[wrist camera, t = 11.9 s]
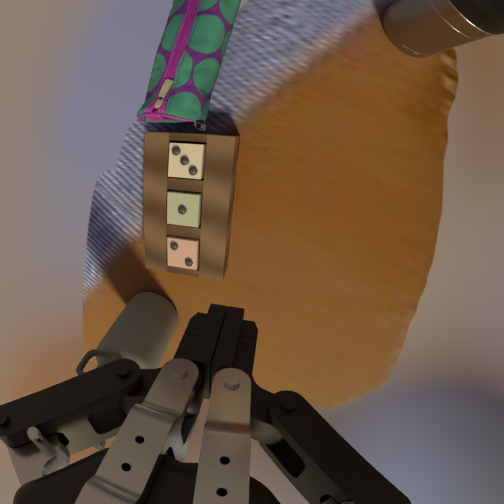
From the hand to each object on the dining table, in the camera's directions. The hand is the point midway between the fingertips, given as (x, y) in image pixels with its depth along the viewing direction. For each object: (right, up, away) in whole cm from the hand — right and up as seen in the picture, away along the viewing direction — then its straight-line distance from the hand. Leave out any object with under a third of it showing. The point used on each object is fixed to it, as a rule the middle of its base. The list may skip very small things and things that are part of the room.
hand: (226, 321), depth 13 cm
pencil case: (-6, +30, +19) cm, 36 cm away
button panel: (-7, +11, +28) cm, 31 cm away
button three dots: (-7, +16, +23) cm, 29 cm away
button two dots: (-8, +4, +29) cm, 30 cm away
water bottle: (-17, -8, +38) cm, 42 cm away
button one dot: (-8, +10, +26) cm, 29 cm away
